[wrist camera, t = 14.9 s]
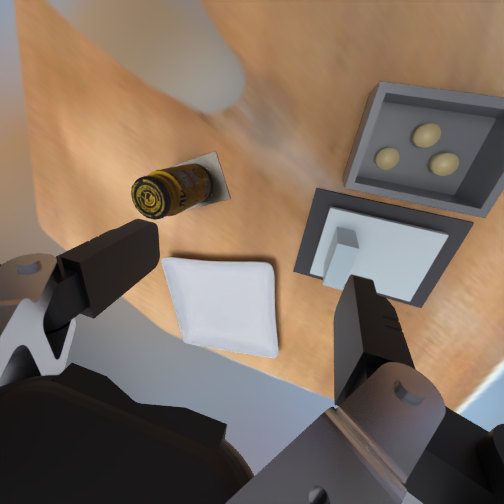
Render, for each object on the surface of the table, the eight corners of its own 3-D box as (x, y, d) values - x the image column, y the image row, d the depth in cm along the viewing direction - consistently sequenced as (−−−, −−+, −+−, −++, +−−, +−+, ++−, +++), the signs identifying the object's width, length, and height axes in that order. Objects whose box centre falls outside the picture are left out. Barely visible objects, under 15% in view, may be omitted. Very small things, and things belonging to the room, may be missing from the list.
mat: (316, 188, 35) (316, 188, 35) (472, 222, 31) (474, 223, 31) (293, 270, 42) (293, 271, 41) (420, 306, 38) (421, 307, 38)
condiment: (171, 166, 40) (114, 178, 30) (215, 151, 37) (170, 157, 27) (187, 209, 43) (141, 233, 32) (231, 198, 39) (194, 221, 29)
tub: (342, 178, 34) (344, 188, 27) (370, 92, 29) (380, 81, 23) (455, 201, 31) (485, 218, 25) (505, 111, 26) (557, 104, 20)
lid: (310, 266, 40) (306, 295, 33) (330, 204, 35) (330, 221, 28) (405, 293, 37) (423, 330, 30) (441, 229, 32) (472, 256, 25)
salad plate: (281, 348, 50) (278, 361, 47) (190, 333, 56) (182, 344, 53) (277, 254, 42) (273, 263, 39) (169, 249, 48) (158, 257, 45)
